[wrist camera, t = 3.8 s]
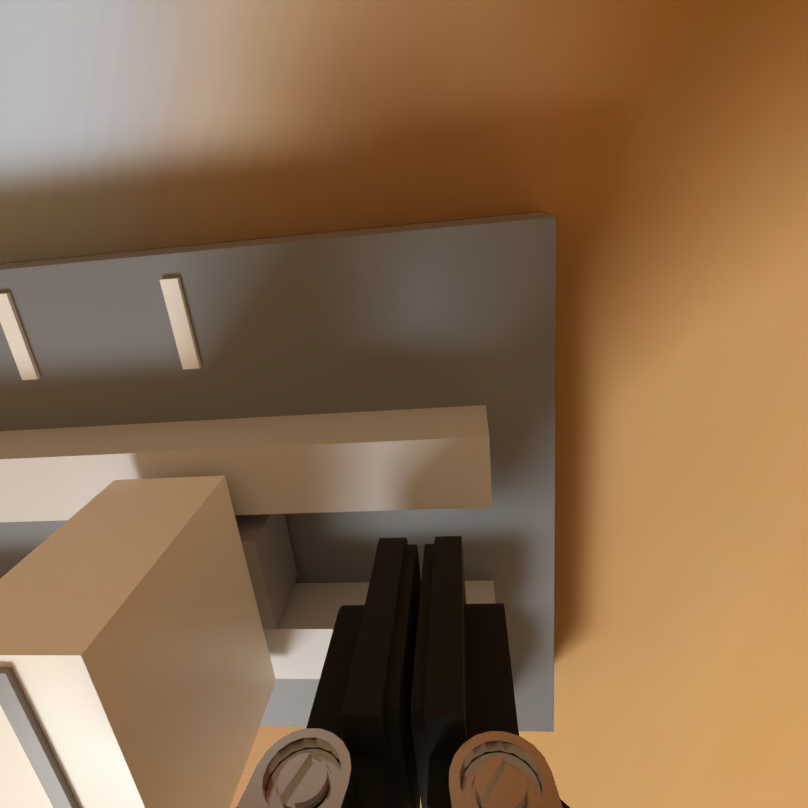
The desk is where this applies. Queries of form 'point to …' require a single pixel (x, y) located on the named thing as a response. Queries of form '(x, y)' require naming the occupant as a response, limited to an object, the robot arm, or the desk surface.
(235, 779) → the fader
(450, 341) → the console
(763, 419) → the desk surface
